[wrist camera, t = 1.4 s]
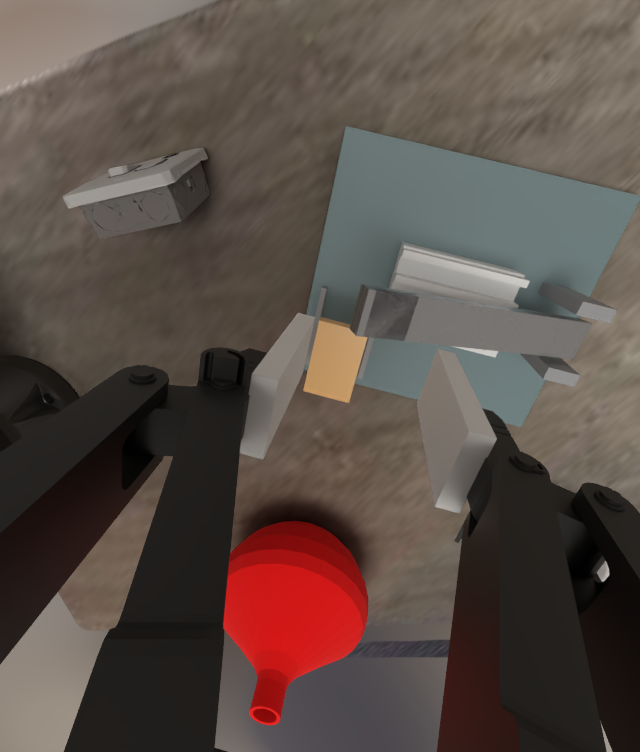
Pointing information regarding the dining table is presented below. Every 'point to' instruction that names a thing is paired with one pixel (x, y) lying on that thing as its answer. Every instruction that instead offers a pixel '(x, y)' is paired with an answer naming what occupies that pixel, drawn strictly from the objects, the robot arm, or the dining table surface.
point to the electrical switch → (143, 194)
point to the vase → (292, 607)
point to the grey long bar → (464, 323)
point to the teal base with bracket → (462, 256)
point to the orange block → (334, 360)
